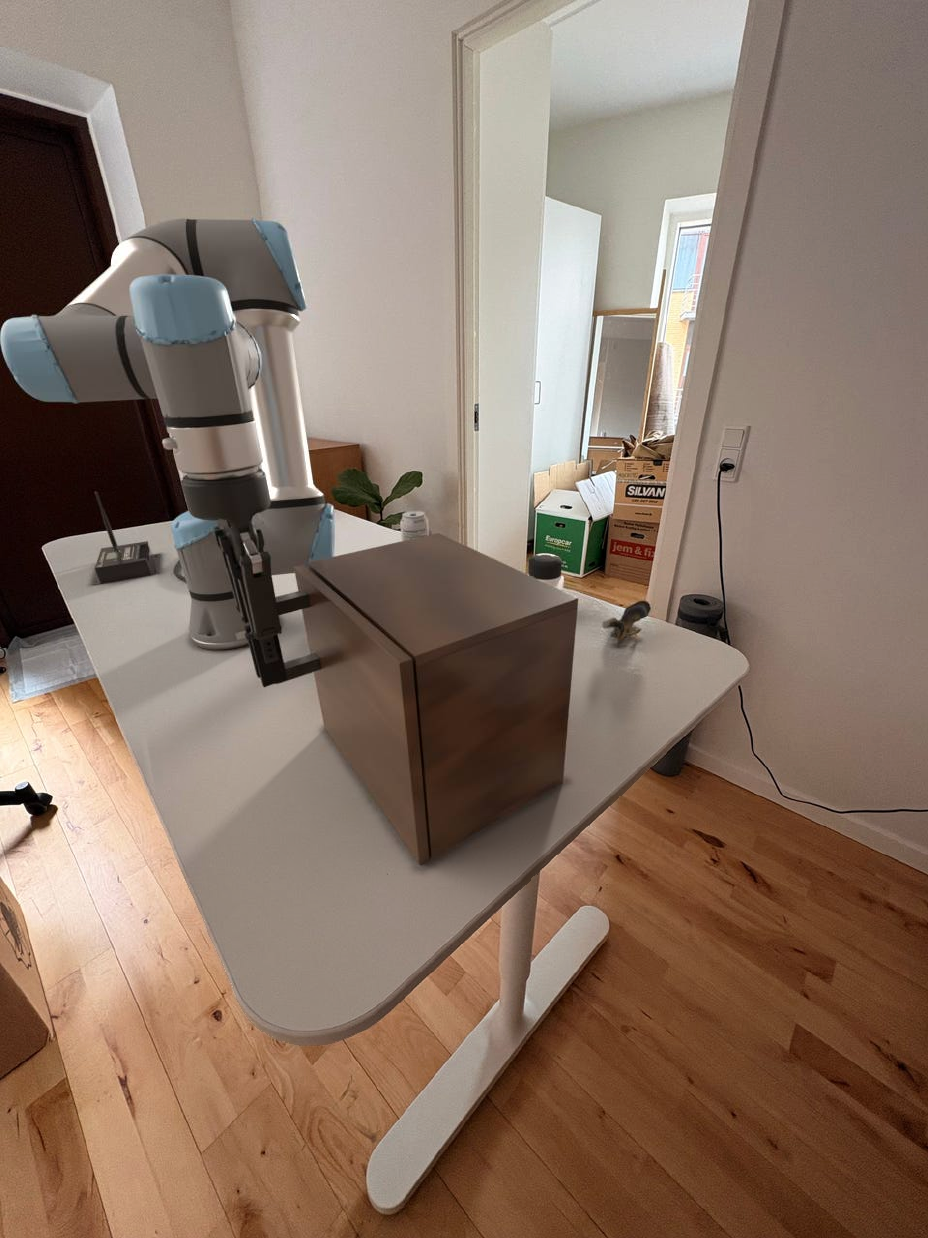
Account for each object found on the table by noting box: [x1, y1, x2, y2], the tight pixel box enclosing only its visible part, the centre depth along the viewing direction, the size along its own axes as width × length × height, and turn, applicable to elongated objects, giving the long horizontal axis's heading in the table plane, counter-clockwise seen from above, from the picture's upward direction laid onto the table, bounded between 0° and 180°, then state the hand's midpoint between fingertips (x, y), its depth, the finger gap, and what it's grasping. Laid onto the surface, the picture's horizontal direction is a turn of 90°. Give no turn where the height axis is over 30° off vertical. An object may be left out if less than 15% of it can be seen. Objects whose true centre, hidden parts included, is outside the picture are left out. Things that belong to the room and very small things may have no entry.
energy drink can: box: [399, 510, 430, 541], centre depth 114 cm, size 6×6×15 cm
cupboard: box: [308, 532, 579, 859], centre depth 60 cm, size 18×26×24 cm
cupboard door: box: [275, 565, 430, 866], centre depth 54 cm, size 7×26×24 cm, turn 34°
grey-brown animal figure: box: [601, 600, 652, 648], centre depth 89 cm, size 8×7×9 cm
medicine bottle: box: [526, 553, 565, 591], centre depth 96 cm, size 7×7×12 cm
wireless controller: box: [91, 491, 161, 586], centre depth 125 cm, size 20×14×17 cm
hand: (271, 676), depth 60 cm, fingers closed on cupboard door, 2 cm apart
